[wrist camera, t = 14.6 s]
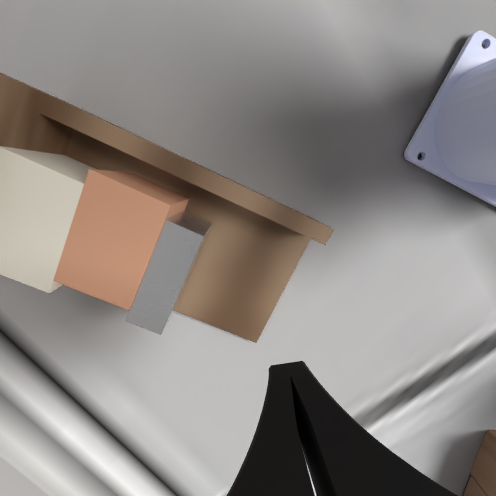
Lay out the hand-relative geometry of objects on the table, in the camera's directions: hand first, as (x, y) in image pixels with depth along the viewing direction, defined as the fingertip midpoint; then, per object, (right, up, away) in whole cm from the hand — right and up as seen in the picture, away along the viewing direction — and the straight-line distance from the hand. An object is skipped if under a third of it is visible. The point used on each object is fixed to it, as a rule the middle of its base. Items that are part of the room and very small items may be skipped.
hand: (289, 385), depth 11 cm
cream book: (-12, +8, +7) cm, 16 cm away
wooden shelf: (-7, +6, +8) cm, 13 cm away
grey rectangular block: (-6, +5, +8) cm, 11 cm away
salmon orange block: (-9, +7, +8) cm, 13 cm away
